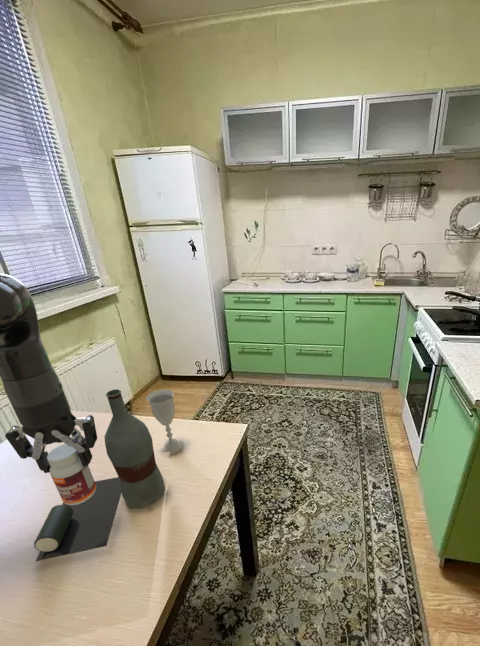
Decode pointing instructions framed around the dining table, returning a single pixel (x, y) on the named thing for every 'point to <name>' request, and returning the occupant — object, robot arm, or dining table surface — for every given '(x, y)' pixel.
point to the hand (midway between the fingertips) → (68, 466)
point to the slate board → (90, 521)
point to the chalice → (164, 415)
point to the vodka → (132, 455)
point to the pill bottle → (70, 475)
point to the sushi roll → (53, 528)
